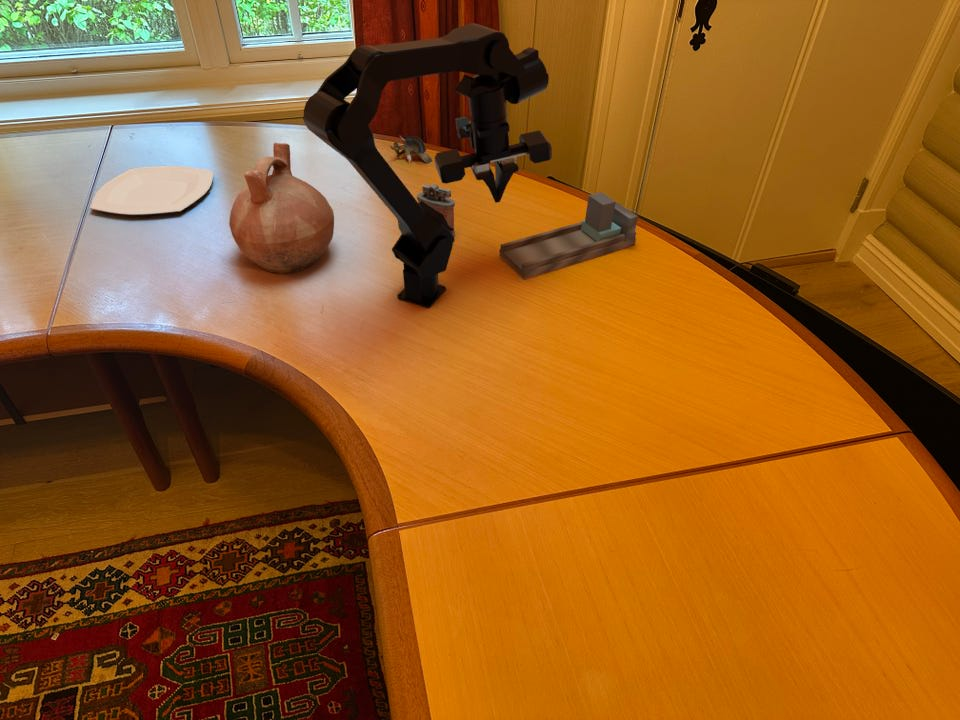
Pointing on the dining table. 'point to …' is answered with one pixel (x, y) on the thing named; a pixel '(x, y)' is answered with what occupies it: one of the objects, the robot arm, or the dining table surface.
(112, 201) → the plate
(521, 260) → the rail
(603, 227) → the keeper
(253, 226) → the jug
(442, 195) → the lighter
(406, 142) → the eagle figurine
